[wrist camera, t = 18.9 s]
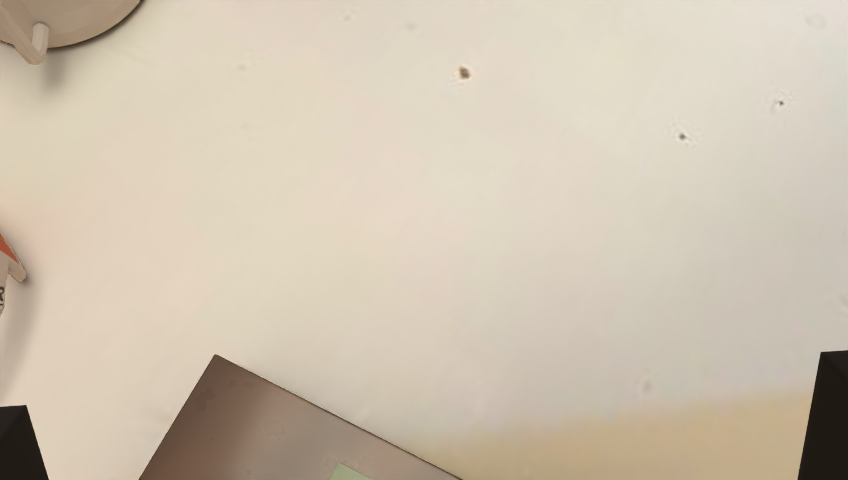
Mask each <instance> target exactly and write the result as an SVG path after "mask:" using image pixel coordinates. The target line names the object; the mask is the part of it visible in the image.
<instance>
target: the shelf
mask: <svg viewBox="0 0 848 480" xmlns="http://www.w3.org/2000/svg"><path fill="white" fill-rule="evenodd" d="M139 480H462V479H460V478H458V477H456V476H454V475H452V474H450V473H448V472H446V471H444V470H442V469H440V468H438V467H437V466H435V465H433V464H431V463H429V462H427V461H425V460H423V459H421V458H419V457H417V456H415V455H413V454H411V453H409V452H407V451H405V450H403V449H401V448H399V447H397V446H395V445H393V444H391V443H389V442H387V441H385V440H383V439H382V438H380V437H378V436H376V435H374V434H372V433H370V432H368V431H366V430H364V429H362V428H360V427H358V426H356V425H354V424H352V423H350V422H348V421H346V420H344V419H342V418H340V417H338V416H336V415H334V414H332V413H330V412H329V411H327V410H325V409H323V408H321V407H319V406H317V405H315V404H313V403H311V402H309V401H307V400H305V399H303V398H301V397H299V396H297V395H295V394H293V393H291V392H289V391H287V390H285V389H283V388H281V387H279V386H277V385H275V384H274V383H272V382H270V381H268V380H266V379H264V378H262V377H260V376H258V375H256V374H254V373H252V372H250V371H248V370H246V369H244V368H242V367H240V366H238V365H236V364H234V363H232V362H230V361H228V360H226V359H224V358H222V357H220V356H219V355H216V354H215V355H214V356H213V358H212V360H211V361H210V363H209V365H208V366H207V368H206V370H205V371H204V373H203V374H202V376H201V378H200V379H199V381H198V383H197V384H196V386H195V388H194V389H193V391H192V393H191V394H190V396H189V398H188V399H187V401H186V402H185V404H184V406H183V407H182V409H181V411H180V412H179V414H178V416H177V417H176V419H175V421H174V422H173V424H172V425H171V427H170V429H169V430H168V432H167V434H166V435H165V437H164V439H163V440H162V442H161V444H160V445H159V447H158V449H157V450H156V452H155V453H154V455H153V457H152V458H151V460H150V462H149V463H148V465H147V467H146V468H145V470H144V472H143V473H142V475H141V477H140V478H139Z"/></svg>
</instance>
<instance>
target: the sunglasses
mask: <svg viewBox="0 0 848 480" xmlns="http://www.w3.org/2000/svg"><path fill="white" fill-rule="evenodd" d="M7 273H8V274H10V275H11V276H12V277H13V278H14V279H15V280H16V281H18V282H19V283H21V282H22V281H23V280H24V279H25V277H26V272H25V270H24V268H23V266H22V264H21V262H20V260H19V258H18V256H17V255H16V253H15V251H14V250H13V249H12V248H11V246H10V245H9V244H8V243H7V242H6V241H5V240H4V238H3V237H2V236H1V235H0V316H1V314H2V311H3V309H4V301H5V286H6V279H7Z"/></svg>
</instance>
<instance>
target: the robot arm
mask: <svg viewBox="0 0 848 480" xmlns="http://www.w3.org/2000/svg"><path fill="white" fill-rule="evenodd" d="M0 480H49V479H48V475H47V472H46V469H45V466H44V462H43V459H42V456H41V452H40V449H39V446H38V442H37V439H36V436H35V433H34V429H33V426H32V423H31V419H30V416H29V413H28V409H27V406H26V405H22V406H7V407H0ZM798 480H848V350H845V351H830V352H821V354H820V360H819V365H818V370H817V376H816V381H815V387H814V392H813V398H812V403H811V409H810V414H809V420H808V425H807V431H806V436H805V442H804V447H803V453H802V458H801V464H800V469H799V475H798Z"/></svg>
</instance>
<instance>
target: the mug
mask: <svg viewBox="0 0 848 480" xmlns="http://www.w3.org/2000/svg"><path fill="white" fill-rule="evenodd" d="M139 2H140V0H0V40H2V41H4V42H6V43H10V44H13V45H14V47H15V48H16V49H17V50H18V52H19V53H20V54H21V55H22V57H23V58H24V59H25V60H26V61H27V62H28V63H30V64H34V65H38V64H40V63H41V62H42V61H43V60H44V59H45V56H46V52H47V48H51V47H60V46H66V45H71V44H74V43H78V42H81V41H84V40H87V39H90V38H92V37H95V36H97V35H99V34H101V33H103V32H104V31H106V30H108V29H110V28H111V27H113V26H114V25H116V24H117V23H118V22H120V21H121V20H122V19H123V18H125V17H126V16H127V15H128V14H129V13H130V12H131V11H132V10H133V9H134V8H135V7H136V6H137V4H138V3H139Z"/></svg>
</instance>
